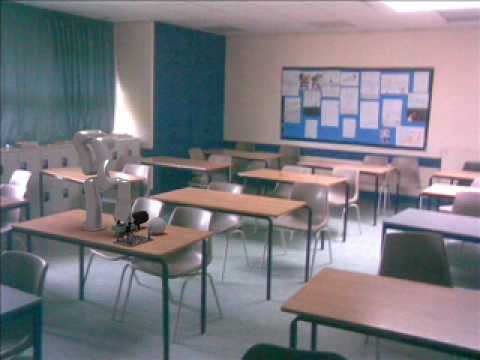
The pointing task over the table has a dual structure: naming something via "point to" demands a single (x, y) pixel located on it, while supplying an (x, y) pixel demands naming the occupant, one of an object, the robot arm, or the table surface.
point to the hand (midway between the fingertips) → (123, 230)
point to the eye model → (157, 225)
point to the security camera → (140, 218)
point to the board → (121, 227)
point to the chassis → (133, 239)
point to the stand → (124, 234)
